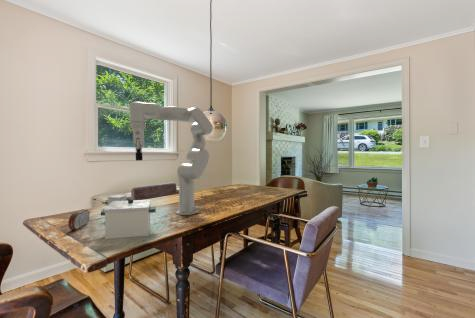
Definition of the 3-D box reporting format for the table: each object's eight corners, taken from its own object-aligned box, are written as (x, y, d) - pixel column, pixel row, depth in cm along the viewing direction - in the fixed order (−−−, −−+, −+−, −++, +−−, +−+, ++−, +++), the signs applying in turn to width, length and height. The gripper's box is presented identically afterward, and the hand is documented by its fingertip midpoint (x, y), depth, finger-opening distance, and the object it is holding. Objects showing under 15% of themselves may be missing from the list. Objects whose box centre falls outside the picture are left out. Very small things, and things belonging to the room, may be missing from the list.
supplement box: (118, 219, 139) (118, 197, 139) (107, 218, 141) (107, 196, 140) (126, 216, 146) (126, 195, 146) (116, 215, 148) (115, 194, 147)
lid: (150, 201, 131) (150, 196, 131) (148, 209, 113) (148, 203, 113) (112, 203, 125) (112, 198, 125) (104, 212, 107) (104, 206, 107)
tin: (84, 223, 132) (84, 207, 132) (90, 222, 132) (90, 207, 132) (67, 232, 117) (67, 214, 117) (74, 232, 117) (74, 214, 117)
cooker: (155, 223, 132) (155, 201, 131) (155, 234, 115) (155, 209, 114) (106, 227, 125) (106, 204, 124) (97, 239, 108) (97, 212, 107)
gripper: (145, 124, 124) (146, 160, 125) (146, 126, 138) (147, 159, 139) (129, 124, 121) (130, 161, 122) (131, 126, 135) (132, 159, 136)
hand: (139, 160), depth 130 cm, fingers closed
